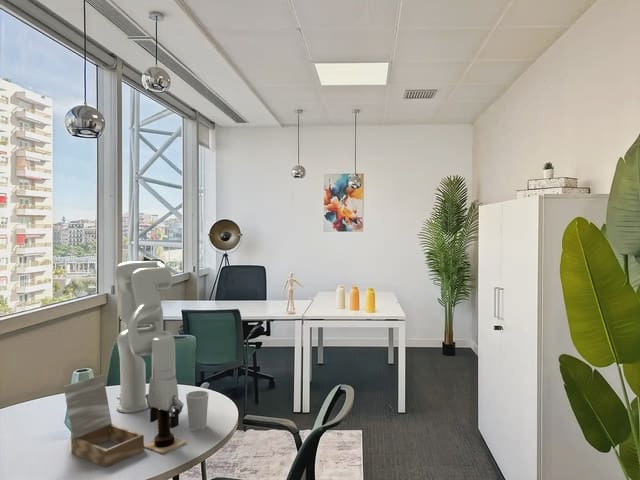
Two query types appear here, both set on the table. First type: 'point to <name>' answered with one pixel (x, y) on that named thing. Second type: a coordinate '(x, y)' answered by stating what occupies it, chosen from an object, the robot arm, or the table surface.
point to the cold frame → (97, 424)
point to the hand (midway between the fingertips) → (164, 423)
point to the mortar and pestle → (163, 430)
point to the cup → (197, 409)
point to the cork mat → (164, 450)
